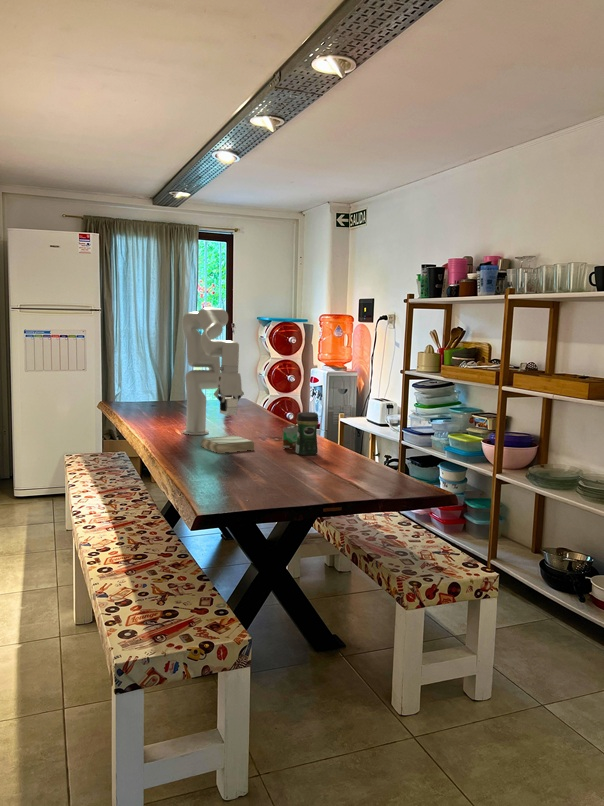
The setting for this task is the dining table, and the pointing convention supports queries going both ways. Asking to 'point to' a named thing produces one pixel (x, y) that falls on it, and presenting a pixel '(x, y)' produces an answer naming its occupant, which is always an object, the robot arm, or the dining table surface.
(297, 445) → the coffee jar
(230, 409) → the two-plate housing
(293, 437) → the food container
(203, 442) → the wooden stand
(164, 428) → the dining table surface
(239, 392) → the robot arm
